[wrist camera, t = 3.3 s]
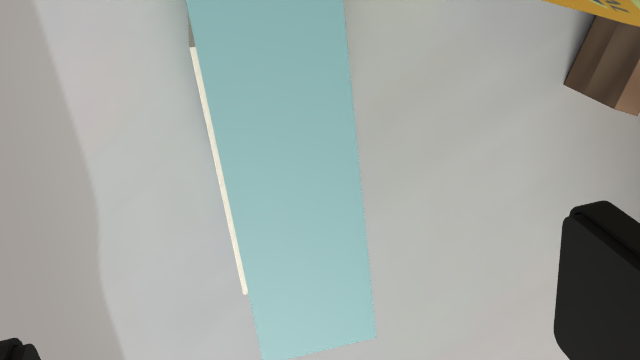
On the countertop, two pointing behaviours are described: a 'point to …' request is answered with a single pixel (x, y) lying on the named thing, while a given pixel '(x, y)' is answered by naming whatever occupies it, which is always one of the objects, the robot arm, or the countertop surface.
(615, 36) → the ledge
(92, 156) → the countertop surface
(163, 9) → the countertop surface
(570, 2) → the protein box
